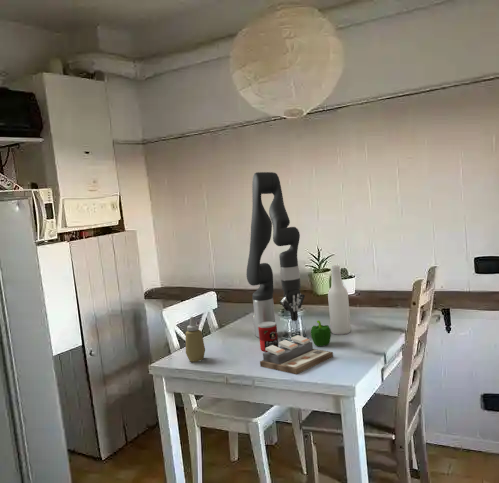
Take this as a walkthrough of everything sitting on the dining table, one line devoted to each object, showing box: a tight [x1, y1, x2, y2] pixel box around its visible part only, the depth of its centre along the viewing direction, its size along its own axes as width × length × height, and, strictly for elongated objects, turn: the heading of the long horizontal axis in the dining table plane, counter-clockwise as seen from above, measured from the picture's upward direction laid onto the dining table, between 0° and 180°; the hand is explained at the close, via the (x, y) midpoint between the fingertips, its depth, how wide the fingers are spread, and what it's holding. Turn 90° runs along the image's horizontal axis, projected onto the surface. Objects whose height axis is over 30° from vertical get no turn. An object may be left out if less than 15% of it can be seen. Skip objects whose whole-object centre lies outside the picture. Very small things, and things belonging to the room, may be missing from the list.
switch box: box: [259, 341, 334, 375], centre depth 218 cm, size 18×22×5 cm
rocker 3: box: [290, 334, 311, 345], centre depth 226 cm, size 6×4×2 cm, turn 45°
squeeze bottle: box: [185, 316, 206, 363], centre depth 233 cm, size 8×8×18 cm
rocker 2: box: [278, 339, 298, 350], centre depth 221 cm, size 6×4×2 cm, turn 45°
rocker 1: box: [265, 345, 285, 355], centre depth 215 cm, size 6×4×2 cm, turn 45°
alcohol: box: [327, 264, 352, 336], centre depth 252 cm, size 9×9×30 cm
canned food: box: [258, 321, 279, 353], centre depth 238 cm, size 8×8×11 cm
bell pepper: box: [310, 320, 332, 347], centre depth 237 cm, size 8×8×10 cm
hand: (294, 320), depth 227 cm, fingers closed
